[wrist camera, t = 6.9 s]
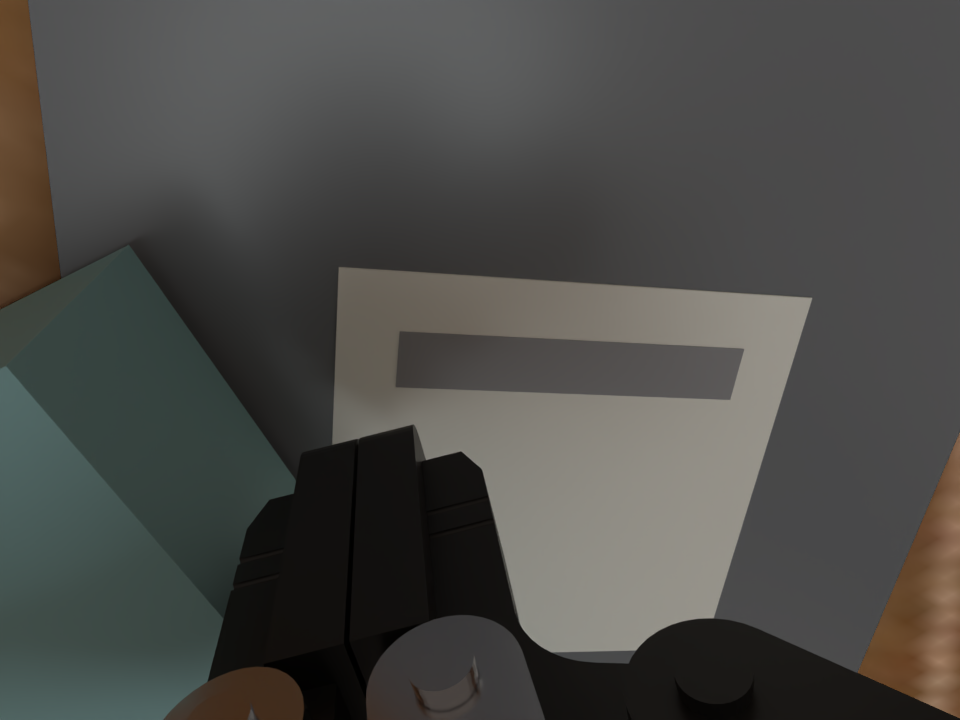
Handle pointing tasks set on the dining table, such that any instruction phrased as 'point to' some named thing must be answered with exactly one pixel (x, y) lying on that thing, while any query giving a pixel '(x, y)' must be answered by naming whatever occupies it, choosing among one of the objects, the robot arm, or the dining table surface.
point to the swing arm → (117, 498)
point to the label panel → (562, 269)
